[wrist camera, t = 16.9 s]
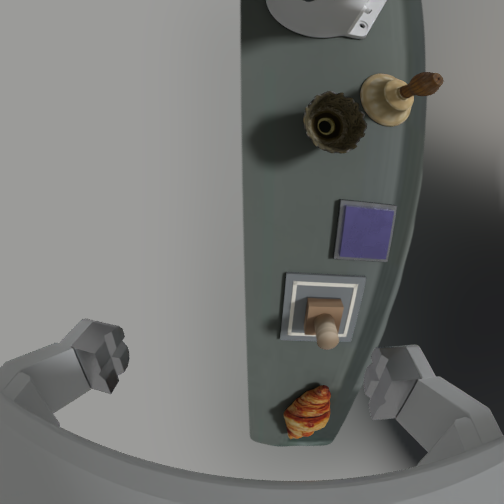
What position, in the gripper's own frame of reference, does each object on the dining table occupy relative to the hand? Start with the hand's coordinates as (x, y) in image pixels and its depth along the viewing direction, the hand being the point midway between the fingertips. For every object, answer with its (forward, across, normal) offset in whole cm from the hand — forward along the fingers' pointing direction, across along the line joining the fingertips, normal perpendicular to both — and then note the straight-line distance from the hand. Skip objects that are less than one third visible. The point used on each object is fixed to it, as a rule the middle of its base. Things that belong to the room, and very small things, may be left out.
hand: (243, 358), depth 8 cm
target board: (+34, -10, +19) cm, 40 cm away
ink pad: (+34, -14, +5) cm, 37 cm away
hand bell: (+34, -16, -15) cm, 41 cm away
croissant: (+34, -11, +47) cm, 59 cm away
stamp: (+33, -10, +19) cm, 40 cm away
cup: (+34, -7, -10) cm, 36 cm away
